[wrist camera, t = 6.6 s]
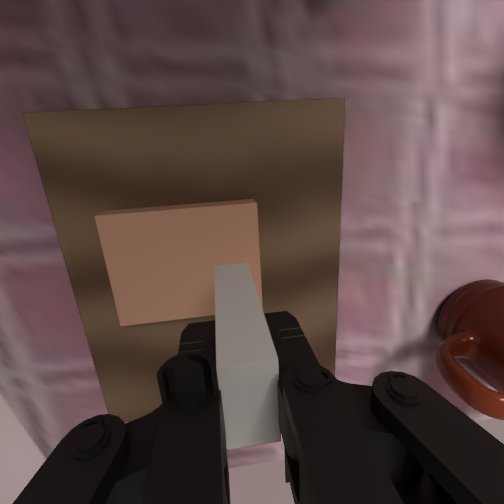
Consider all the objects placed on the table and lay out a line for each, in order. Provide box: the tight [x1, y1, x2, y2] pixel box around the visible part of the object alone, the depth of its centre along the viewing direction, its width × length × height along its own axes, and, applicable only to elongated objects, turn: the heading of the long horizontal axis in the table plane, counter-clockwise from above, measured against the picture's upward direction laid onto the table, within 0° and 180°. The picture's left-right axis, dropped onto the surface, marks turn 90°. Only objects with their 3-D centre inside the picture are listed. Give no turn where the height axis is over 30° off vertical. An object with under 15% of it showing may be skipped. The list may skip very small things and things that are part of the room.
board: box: [23, 98, 345, 422], centre depth 21 cm, size 22×18×1 cm
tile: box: [95, 199, 263, 326], centre depth 18 cm, size 7×2×9 cm
